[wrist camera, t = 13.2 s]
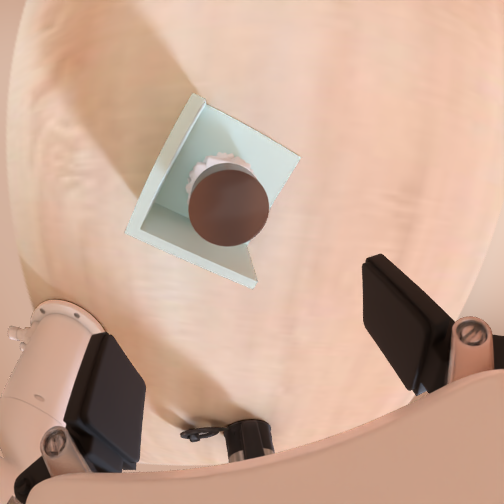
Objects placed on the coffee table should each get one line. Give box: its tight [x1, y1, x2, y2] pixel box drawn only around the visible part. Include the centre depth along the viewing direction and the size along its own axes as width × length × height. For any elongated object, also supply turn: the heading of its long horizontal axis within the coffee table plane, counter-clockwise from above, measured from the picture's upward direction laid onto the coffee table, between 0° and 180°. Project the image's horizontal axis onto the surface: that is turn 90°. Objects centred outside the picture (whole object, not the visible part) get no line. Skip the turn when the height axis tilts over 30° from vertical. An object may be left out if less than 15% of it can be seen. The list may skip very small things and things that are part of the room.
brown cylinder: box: [188, 163, 269, 247], centre depth 21 cm, size 5×5×3 cm
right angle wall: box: [125, 93, 301, 289], centre depth 26 cm, size 12×12×8 cm
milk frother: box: [180, 420, 275, 463], centre depth 42 cm, size 14×16×15 cm
